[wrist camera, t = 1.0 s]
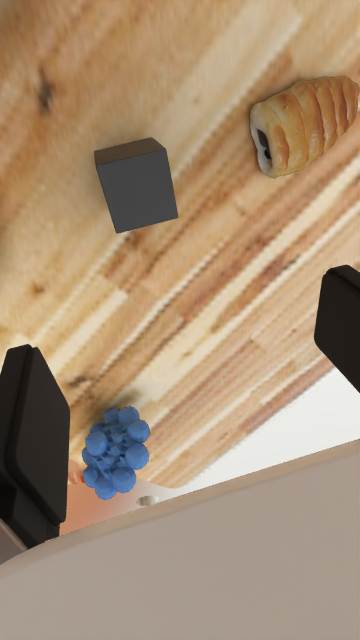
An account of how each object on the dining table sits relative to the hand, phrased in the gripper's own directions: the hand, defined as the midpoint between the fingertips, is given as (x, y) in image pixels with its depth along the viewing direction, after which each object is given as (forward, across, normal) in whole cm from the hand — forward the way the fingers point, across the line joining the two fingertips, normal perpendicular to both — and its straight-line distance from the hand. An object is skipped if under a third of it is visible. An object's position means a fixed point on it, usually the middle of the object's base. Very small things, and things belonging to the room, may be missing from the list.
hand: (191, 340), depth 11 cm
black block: (+23, -1, 0) cm, 23 cm away
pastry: (+23, -16, -2) cm, 28 cm away
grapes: (+23, +9, +28) cm, 38 cm away
